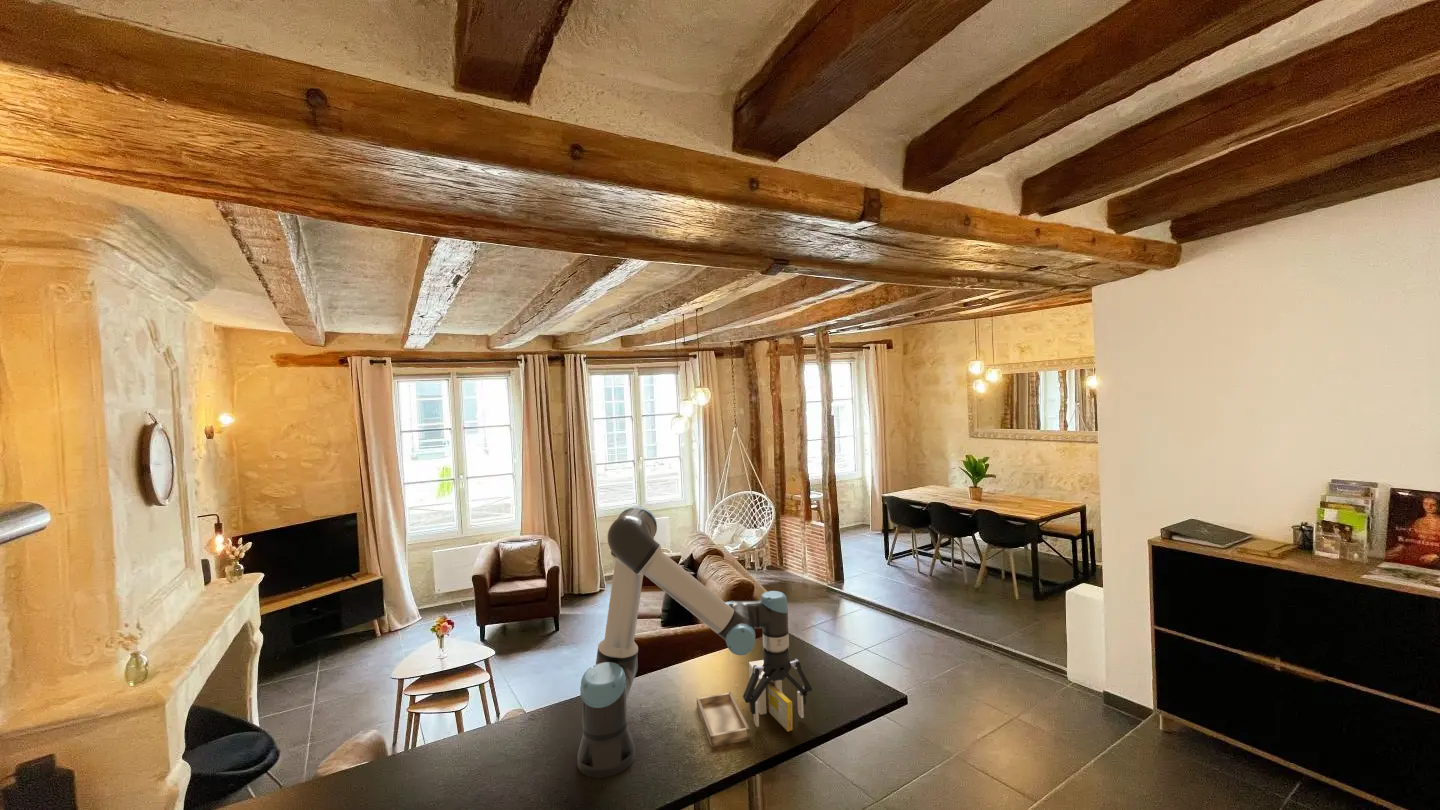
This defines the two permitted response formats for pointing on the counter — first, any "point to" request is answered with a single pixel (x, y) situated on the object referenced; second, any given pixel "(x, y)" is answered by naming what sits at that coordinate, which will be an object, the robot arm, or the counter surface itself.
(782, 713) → the candy box
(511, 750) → the counter surface
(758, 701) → the white box
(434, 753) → the counter surface
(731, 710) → the tray
